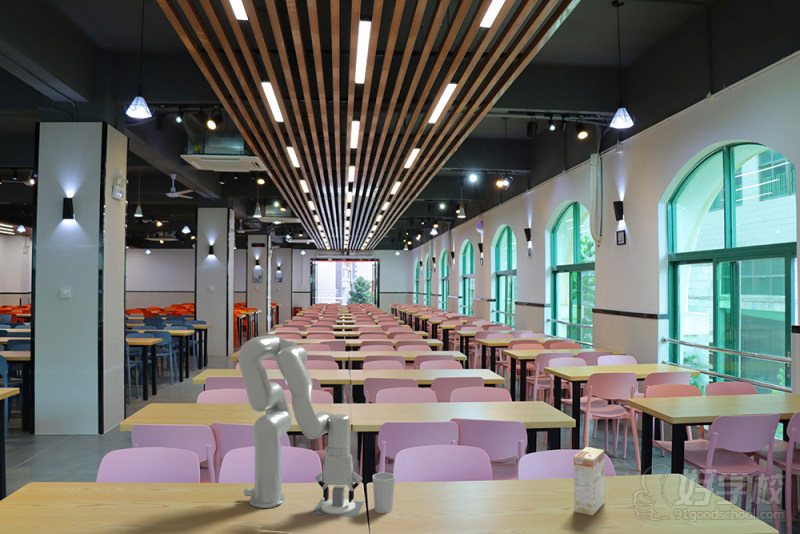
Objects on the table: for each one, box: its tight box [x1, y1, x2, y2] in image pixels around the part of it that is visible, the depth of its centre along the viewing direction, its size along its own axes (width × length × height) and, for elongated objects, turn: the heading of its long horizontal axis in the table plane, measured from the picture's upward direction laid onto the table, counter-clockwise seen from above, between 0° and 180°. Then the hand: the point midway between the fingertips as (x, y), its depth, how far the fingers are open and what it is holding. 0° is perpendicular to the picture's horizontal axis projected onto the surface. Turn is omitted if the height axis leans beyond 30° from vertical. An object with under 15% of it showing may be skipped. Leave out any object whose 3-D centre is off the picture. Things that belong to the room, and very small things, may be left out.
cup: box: [372, 472, 396, 514], centre depth 201 cm, size 8×8×12 cm
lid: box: [321, 485, 355, 515], centre depth 202 cm, size 12×12×7 cm
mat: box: [310, 498, 365, 518], centre depth 202 cm, size 16×14×1 cm
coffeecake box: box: [573, 446, 606, 517], centre depth 206 cm, size 15×7×20 cm, turn 145°
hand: (338, 500), depth 202 cm, fingers open, 8 cm apart
